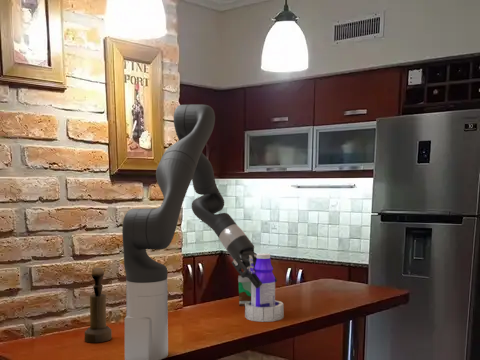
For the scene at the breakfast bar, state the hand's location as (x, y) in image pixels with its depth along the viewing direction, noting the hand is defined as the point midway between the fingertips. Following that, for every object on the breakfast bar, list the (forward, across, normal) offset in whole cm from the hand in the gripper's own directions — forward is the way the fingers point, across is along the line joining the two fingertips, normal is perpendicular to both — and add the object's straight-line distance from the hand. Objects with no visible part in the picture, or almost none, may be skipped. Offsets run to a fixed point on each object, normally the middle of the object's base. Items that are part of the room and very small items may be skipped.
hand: (267, 284), depth 150 cm
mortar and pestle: (-8, -43, +23) cm, 50 cm away
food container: (-4, +13, +18) cm, 23 cm away
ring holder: (+6, 0, +8) cm, 10 cm away
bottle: (+5, 0, +7) cm, 9 cm away
